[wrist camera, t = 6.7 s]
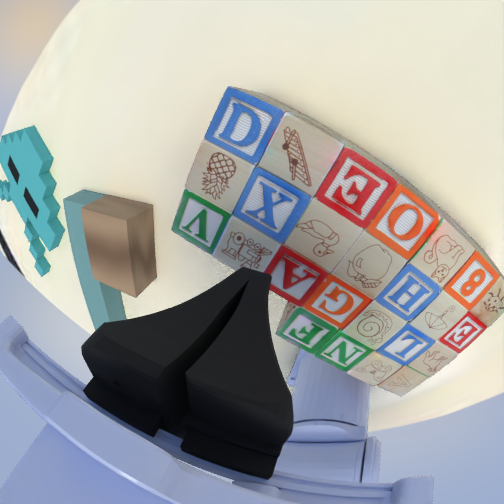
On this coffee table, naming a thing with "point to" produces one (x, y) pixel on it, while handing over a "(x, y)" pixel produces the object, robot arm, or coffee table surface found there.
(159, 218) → the coffee table surface
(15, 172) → the alien figure
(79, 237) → the teal bar
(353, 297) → the stack of blocks
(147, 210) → the walnut block
